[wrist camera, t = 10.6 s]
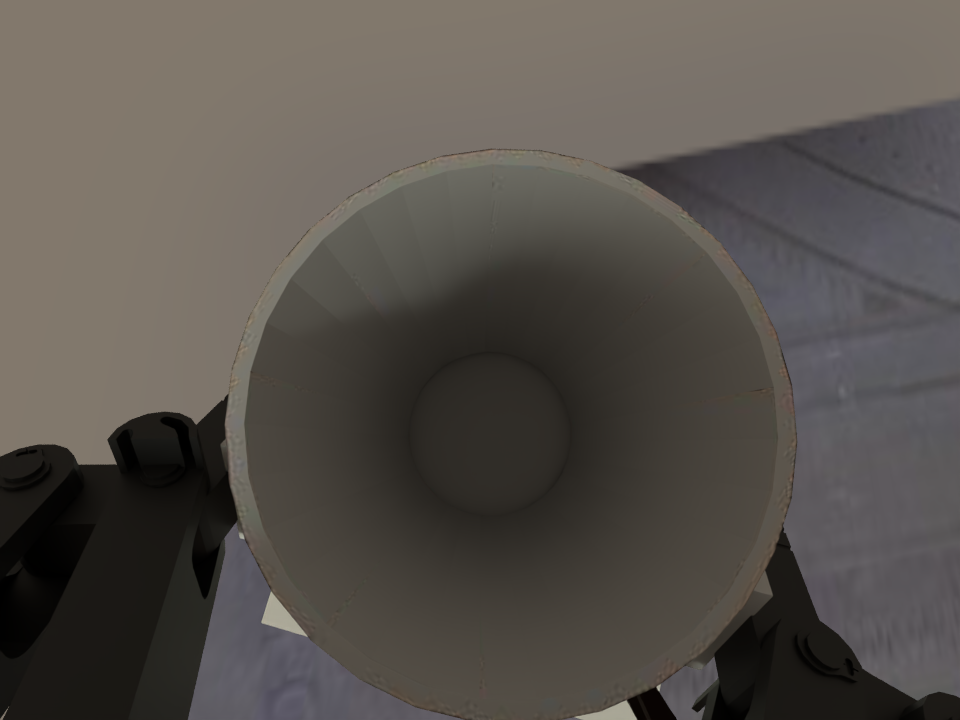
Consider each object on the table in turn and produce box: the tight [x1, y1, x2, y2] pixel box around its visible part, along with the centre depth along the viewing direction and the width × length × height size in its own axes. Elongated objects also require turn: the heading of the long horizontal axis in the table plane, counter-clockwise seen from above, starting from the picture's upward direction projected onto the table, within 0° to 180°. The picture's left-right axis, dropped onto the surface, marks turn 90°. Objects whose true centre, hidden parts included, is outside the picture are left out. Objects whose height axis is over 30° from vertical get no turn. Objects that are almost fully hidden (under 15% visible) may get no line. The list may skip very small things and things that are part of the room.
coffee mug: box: [225, 149, 797, 720], centre depth 12 cm, size 12×9×10 cm
